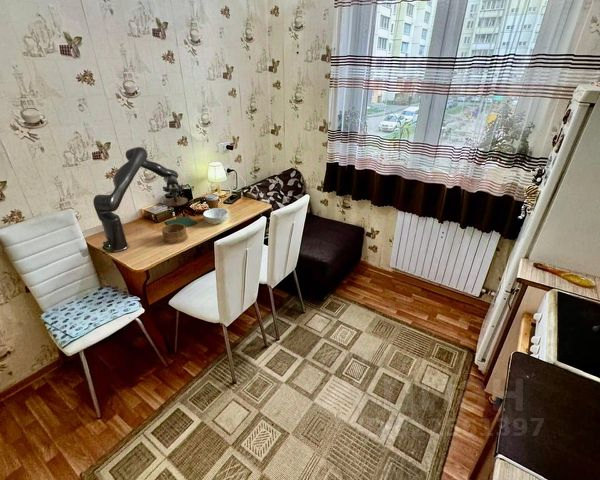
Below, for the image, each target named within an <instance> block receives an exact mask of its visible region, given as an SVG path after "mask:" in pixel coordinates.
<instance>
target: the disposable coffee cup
mask: <svg viewBox="0 0 600 480" xmlns="http://www.w3.org/2000/svg"><path fill="white" fill-rule="evenodd" d="M219 198H220V196H219V195H218V194H216V193H209V194H207V195H205V200H206V203H207V207H208V209H209V208H210V209H213V208H219Z"/></svg>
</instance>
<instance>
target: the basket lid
mask: <svg viewBox="0 0 600 480" xmlns="http://www.w3.org/2000/svg"><path fill="white" fill-rule="evenodd" d="M171 189H172V193H173V194H172V197H170V198H167V199H165V200H164V202H163V204H164V205H165V206H167V207H179V206H183V205H185V204H187V203H188V202H189V199H188V198H186V197H182V196H178V193H177V192H176V188H175V187H173V188H171Z"/></svg>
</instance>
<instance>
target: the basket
mask: <svg viewBox="0 0 600 480" xmlns="http://www.w3.org/2000/svg"><path fill="white" fill-rule="evenodd" d="M161 232H162V237H163V241H164V243H166V244H168V245H176V244H181V243H184V242H185V241H186V240H187V239H188V233H187V227H185V225H183V224H179V223H175V224H170V225H167V224H166V225H165V226H163V227H162V228H161Z"/></svg>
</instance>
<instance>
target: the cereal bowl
mask: <svg viewBox="0 0 600 480" xmlns="http://www.w3.org/2000/svg"><path fill="white" fill-rule="evenodd" d="M202 214H203V216H202V217H203V219H204V221H205V222H207V223H209V224H213V225H219V224H222V223H223V222H225V221H227V219H228V217H229V211H228V210H227V209H225V208H221V207H218V208H213V209H209V208H208V209H207V210H205V211H204V212H203V213H202Z"/></svg>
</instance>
